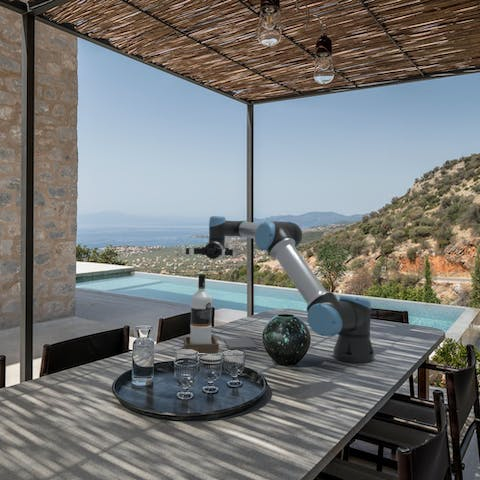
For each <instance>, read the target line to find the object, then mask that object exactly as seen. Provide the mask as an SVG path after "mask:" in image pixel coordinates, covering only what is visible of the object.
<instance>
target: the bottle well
mask: <svg viewBox="0 0 480 480" xmlns="http://www.w3.org/2000/svg"><path fill="white" fill-rule="evenodd" d="M211 341H212V344H189V343H190V336H183V343H182V344H183V350H184V349H193V350H196V351H198V352H199V353H220V352H219V351H220V350H219V349H220V347H219V346H220V344H219V342H218V340H217V338H216V336H215V335H213V336H212V335H211Z"/></svg>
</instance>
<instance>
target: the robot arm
mask: <svg viewBox="0 0 480 480" xmlns="http://www.w3.org/2000/svg"><path fill="white" fill-rule="evenodd" d="M208 222H209V223H208V231H209V232H208V233H209V237H208V243H207V244H206V245H205V246H202V247H186V248H185V255H188V256H189V257H193V256H194V255H202V256H206V258H208V259H210V260H216V259H217V258H220V257H222V258H223V257H227V256H231V257H232V256H233V255H234V253H233V251H234V249H233V248H232V249H230V247H226V245H225V242H226V237H240V238H247V239H248V238H249V239H254V242H255V245H256V247H257V248H258V249H259V250H260V251H266V252H267V253H268V255H269V256H270V258H271V259H273V260H277V262H278V263H279V264H280V267H282V269H283V271H284V272H285V273H286V275H287V276H288V278H289V279H290V281H291V282H292V283H293V285H294V287H295V288H296V289H297V292H298V293H300V295H301V296H302V298H303V300H304V301H305V303H306V304H307V305H306V312H307V317H306V318H308V319H307V322H308V325H309V327H310V329H311V330H312V331H313V332H314V333H316V334H317V335H319V336H321V337H333V336H336V335H338V337H337V340H336V342H335V345H334V348H333V350H332V351H333V353H332V354H333V357H334V358H335V359H337V360H339V361H343V362H349V363H356V364H357V363H370V362H373V361H374V360H375V351H374V347H373V345H372V344H373V343H372V342H371V316H372V315H371V314H372V308H371V307H372V305H371V301H370V300H369V298H364V297H357V296H349V295H340V296H339V298H337V297H336V295H335V294H334V293H333V292H332V291H327V290H326V288H325V287H324V286H323V284H322V283H321V281H320V280H319V279H318V277H317V276H316V275H315V273H314V272H313V271H312V269H311V268H310V266H309V264H308V263H307V261H305V259H304V258H303V256H302V255H301V254H300V253H299V251H298V250H297V247H299V245H300V244H301V242H302V240H303V230H302V229H301V227H300V226H299V225H298V224H297V223H295V222H292V221H274V220H273V221H272V220H269V221H262V222H261V223H260V222H252V221H244V220H227V219H226V217H225V216H216V215H215V216H213V215H212V216H210V217H209V221H208Z"/></svg>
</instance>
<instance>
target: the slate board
mask: <svg viewBox="0 0 480 480" xmlns="http://www.w3.org/2000/svg"><path fill="white" fill-rule="evenodd" d="M224 342H226V343H227V345H228V346H227V345H226V346H227V348H228V347H229V348H228V350H229V349H238V350H237V351H239V350H244V351H245V350H257V348H258V346H257V345H256V344H255V343H254V341H253V340H252V339H251V338H250V337H249V338H241V337H240V338H224ZM226 343H225V344H226Z"/></svg>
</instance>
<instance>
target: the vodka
mask: <svg viewBox="0 0 480 480" xmlns="http://www.w3.org/2000/svg"><path fill="white" fill-rule="evenodd" d="M197 290H198V291H196V292H195V293H193V294H192V295H191V297H190V324H189V327H190V336H189V337H190V343H189V344H212V341H211V336H212V327H213V326H212V312H213V311H212V309H213V308H212V307H213V305H212V304H213V297H212V295H210V293H208V292H207V291H206V274H202V273H199V274H198V289H197Z"/></svg>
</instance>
